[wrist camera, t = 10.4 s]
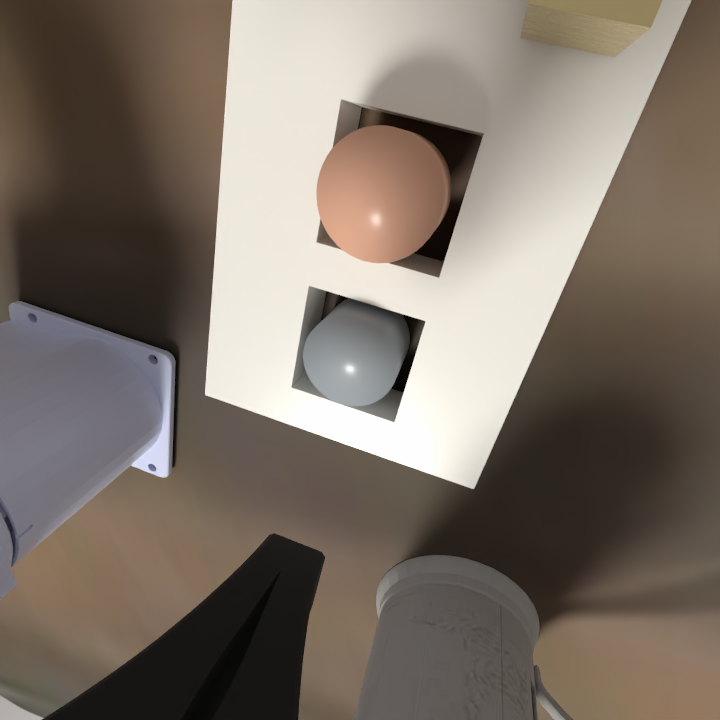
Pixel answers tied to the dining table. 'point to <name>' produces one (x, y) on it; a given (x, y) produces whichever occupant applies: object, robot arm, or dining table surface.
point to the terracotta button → (383, 193)
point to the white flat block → (415, 272)
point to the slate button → (356, 352)
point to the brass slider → (589, 23)
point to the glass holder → (453, 646)
